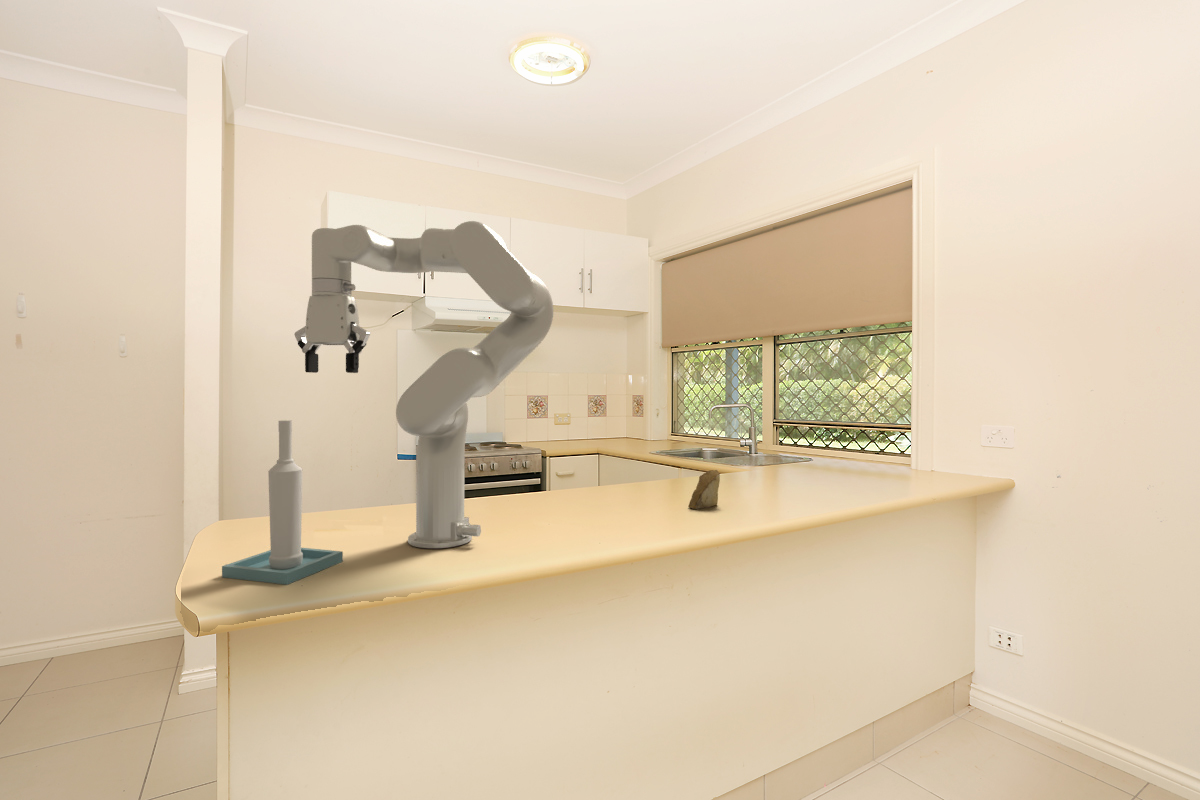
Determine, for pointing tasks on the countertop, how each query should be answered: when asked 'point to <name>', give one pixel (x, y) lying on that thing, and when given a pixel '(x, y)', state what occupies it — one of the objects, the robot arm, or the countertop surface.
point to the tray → (261, 570)
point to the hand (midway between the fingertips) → (331, 372)
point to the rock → (706, 490)
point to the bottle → (285, 504)
